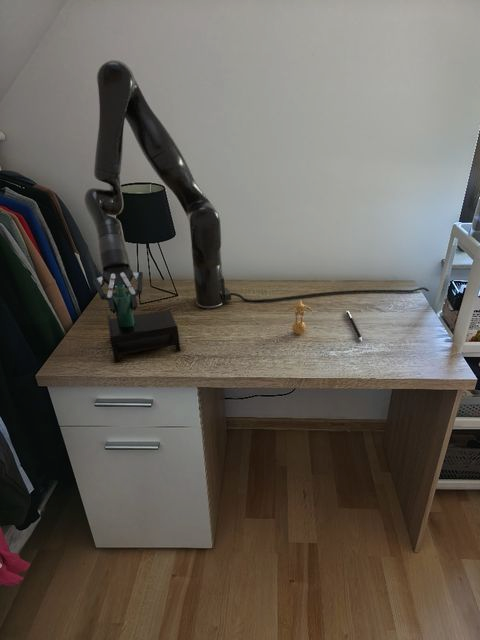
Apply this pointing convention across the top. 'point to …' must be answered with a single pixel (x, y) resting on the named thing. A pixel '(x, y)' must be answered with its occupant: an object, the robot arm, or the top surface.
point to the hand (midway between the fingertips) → (124, 310)
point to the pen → (354, 326)
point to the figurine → (298, 325)
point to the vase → (123, 306)
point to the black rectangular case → (144, 333)
